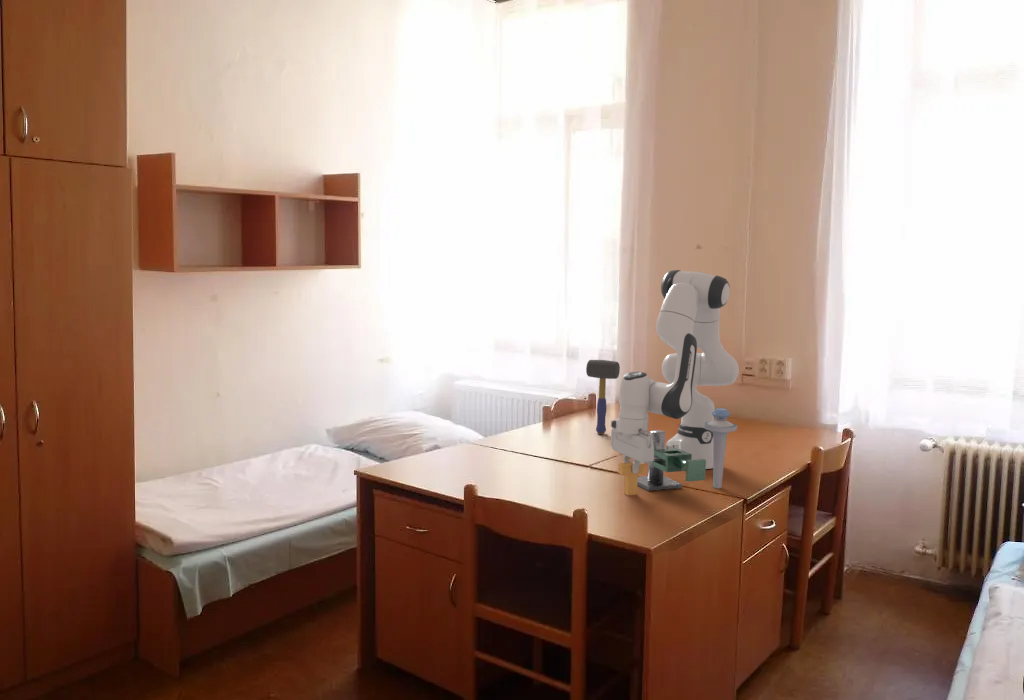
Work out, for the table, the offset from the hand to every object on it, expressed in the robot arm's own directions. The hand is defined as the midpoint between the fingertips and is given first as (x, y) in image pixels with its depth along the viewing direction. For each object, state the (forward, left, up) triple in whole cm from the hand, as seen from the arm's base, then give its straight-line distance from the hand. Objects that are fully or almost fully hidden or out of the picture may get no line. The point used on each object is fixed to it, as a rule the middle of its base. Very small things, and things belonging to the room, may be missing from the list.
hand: (631, 471), depth 262 cm
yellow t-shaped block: (0, 0, -7) cm, 7 cm away
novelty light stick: (+2, +30, -7) cm, 31 cm away
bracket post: (+1, +13, -7) cm, 15 cm away
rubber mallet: (-80, +32, -7) cm, 86 cm away
